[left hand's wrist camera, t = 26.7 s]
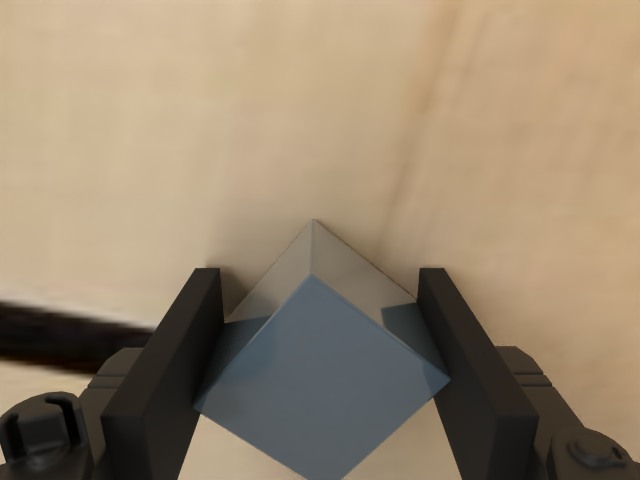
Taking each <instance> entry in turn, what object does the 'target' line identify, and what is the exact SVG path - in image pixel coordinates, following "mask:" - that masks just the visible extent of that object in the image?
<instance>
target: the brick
mask: <svg viewBox="0 0 640 480" xmlns="http://www.w3.org/2000/svg"><path fill="white" fill-rule="evenodd" d="M450 381H451V379H450V376H449V374H448V371H447V369H446V367H445V365H444V362H443V360H442V358H441V356H440V353H439V351H438V349H437V347H436V344H435V342H434V340H433V338H432V335H431V333H430V331H429V329H428V326H427V324H426V322H425V320H424V317H423V315H422V313H421V311H420V308H419V306H418V304H417V302H416V300H415V298H413V297H412V296H411V295H410V294H408V293H407V292H406V291H405V290H403V289H402V288H401V287H399V286H398V285H397V284H396V283H394V282H393V281H392V280H391V279H389V278H388V277H387V276H386V275H384V274H383V273H382V272H380V271H379V270H378V269H377V268H375V267H374V266H373V265H372V264H370V263H369V262H368V261H367V260H365V259H364V258H363V257H361V256H360V255H359V254H358V253H356V252H355V251H354V250H353V249H351V248H350V247H349V246H348V245H346V244H345V243H344V242H342V241H341V240H340V239H339V238H337V237H336V236H335V235H334V234H332V233H331V232H330V231H328V230H327V229H326V228H325V227H323V226H322V225H321V224H320V223H318V222H317V221H316V220H314V219H312V220H311V221H310V222H309V223H308V225H307V226H306V227H305V228H304V229H303V230H302V232H301V233H300V234H299V235H298V236H297V237H296V239H295V240H294V241H293V242H292V243H291V244H290V246H289V247H288V248H287V249H286V250H285V251H284V253H283V254H282V255H281V256H280V257H279V258H278V260H277V261H276V262H275V263H274V264H273V265H272V267H271V268H270V269H269V270H268V271H267V272H266V274H265V275H264V276H263V277H262V278H261V279H260V281H259V282H258V283H257V284H256V285H255V286H254V288H253V289H252V290H251V291H250V292H249V293H248V295H247V296H246V297H245V298H244V299H243V300H242V302H241V303H240V304H239V305H238V306H237V307H236V309H235V310H234V311H233V312H232V313H231V314H230V316H229V317H228V318H227V319H226V320H225V323H224V325H223V328H222V330H221V333H220V335H219V338H218V340H217V343H216V346H215V348H214V351H213V353H212V356H211V358H210V361H209V363H208V366H207V369H206V371H205V374H204V376H203V379H202V381H201V384H200V386H199V389H198V392H197V394H196V397H195V399H194V402H193V404H192V408H193V409H194V410H196V411H197V412H199V413H201V414H202V415H204V416H205V417H207V418H209V419H210V420H212V421H213V422H215V423H217V424H218V425H220V426H221V427H223V428H225V429H226V430H228V431H229V432H231V433H233V434H234V435H236V436H237V437H239V438H241V439H242V440H244V441H245V442H247V443H249V444H250V445H252V446H254V447H255V448H257V449H258V450H260V451H262V452H263V453H265V454H266V455H268V456H270V457H271V458H273V459H274V460H276V461H278V462H279V463H281V464H282V465H284V466H286V467H287V468H289V469H290V470H292V471H294V472H295V473H297V474H298V475H300V476H302V477H303V478H305V479H307V480H342V479H343V478H344V477H345V476H346V475H347V474H349V473H350V472H351V471H352V470H353V469H354V468H355V467H356V466H357V465H358V464H360V463H361V462H362V461H363V460H364V459H365V458H366V457H367V456H368V455H370V454H371V453H372V452H373V451H374V450H375V449H376V448H377V447H378V446H379V445H381V444H382V443H383V442H384V441H385V440H386V439H387V438H388V437H389V436H390V435H392V434H393V433H394V432H395V431H396V430H397V429H398V428H399V427H400V426H402V425H403V424H404V423H405V422H406V421H407V420H408V419H409V418H410V417H411V416H413V415H414V414H415V413H416V412H417V411H418V410H419V409H420V408H421V407H423V406H424V405H425V404H426V403H427V402H428V401H429V400H430V399H431V398H432V397H434V396H435V395H436V394H437V393H438V392H439V391H440V390H441V389H442V388H444V387H445V386H446V385H447V384H448V383H449V382H450Z"/></svg>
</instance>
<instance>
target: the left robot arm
mask: <svg viewBox="0 0 640 480" xmlns="http://www.w3.org/2000/svg"><path fill="white" fill-rule="evenodd" d="M417 304H418V306H419V308H420V311H421V313H422V315H423V317H424V320H425V322H426V324H427V326H428V329H429V331H430V333H431V335H432V338H433V340H434V342H435V344H436V347H437V349H438V351H439V353H440V356H441V358H442V360H443V362H444V365H445V367H446V369H447V371H448V374H449V376H450V379H451V381H450V382H449V383H448V384H447V385H446V386H445V387H444V388H442V389H441V390H440V391H439V392H438V393H437V394H436V395H435V396H434V397H433V398H434V401H435V404H436V407H437V410H438V412H439V415H440V418H441V421H442V424H443V427H444V429H445V432H446V435H447V438H448V441H449V444H450V446H451V449H452V452H453V455H454V458H455V461H456V463H457V466H458V469H459V472H460V475H461V478H462V480H640V463H638V462H635V461H633V460H632V459H631V457H630V456H629V454H628V453H627V451H626V450H625V449H624V448H622V447H621V446H620V445H619V444H618V443H617V442H615V441H614V440H613V439H611V438H609V437H607V436H605V435H603V434H602V433H600V432H597V431H594V430H591V429H588V428H585V427H584V425H583V424H582V423H581V422H580V420H579V419H578V418H577V416H576V415H575V414H574V412H573V411H572V410H571V408H570V407H569V406H568V404H567V403H566V402H565V400H564V399H563V398H562V396H561V395H560V394H559V392H558V391H557V390H556V389H555V387H552V383H551V382H550V381H549V379H548V378H547V377H546V375H543V371H542V370H541V369H540V367H539V366H538V365H537V363H536V362H535V361H534V359H533V358H531V357H530V356H529V355H527V354H526V353H524V352H523V351H521V350H520V349H519V348H517V347H516V346H494V345H493V343H492V342H491V340H490V339H489V337H488V336H487V334H486V333H485V331H484V329H483V328H482V326H481V325H480V323H479V322H478V320H477V319H476V317H475V316H474V314H473V313H472V311H471V309H470V308H469V306H468V305H467V303H466V302H465V300H464V299H463V297H462V296H461V294H460V292H459V291H458V289H457V288H456V286H455V285H454V283H453V282H452V280H451V279H450V277H449V275H448V274H447V272H446V271H445V269H444V268H420V273H419V285H418V297H417ZM223 325H224V315H223V303H222V291H221V279H220V268H195V270H194V272H193V273H192V275H191V276H190V278H189V279H188V281H187V282H186V284H185V285H184V287H183V288H182V290H181V292H180V293H179V295H178V296H177V298H176V299H175V301H174V302H173V304H172V305H171V307H170V309H169V310H168V312H167V313H166V315H165V316H164V318H163V319H162V321H161V322H160V324H159V325H158V327H157V329H156V330H155V332H154V333H153V335H152V336H151V338H150V339H149V341H148V342H147V344H146V346H145V347H144V348H123V349H122V350H120V351H119V352H117V353H116V354H115V355H113V356H112V357H110V358H109V359H107V360H106V362H105V363H104V364H103V366H102V367H101V368H100V370H99V371H98V372H97V374H96V377H94V378H93V379H92V380H91V382H90V383H89V384H88V388H87V389H85V390H84V391H83V392H82V394H81V395H80V396H79V398H78V397H76V396H75V395H74V394H72V393H67V392H62V391H61V392H48V393H44V394H41V395H37V396H34V397H31V398H29V399H27V400H25V401H22V402H20V403H18V404H16V405H15V406H13V407H12V408H11V409H9V410H8V411H7V412H5V413H4V414H3V415H2V416H1V417H0V445H1V448H2V451H3V454H4V457H5V461H6V463H5V464H2V465H0V480H177V479H178V476H179V473H180V470H181V468H182V465H183V462H184V459H185V456H186V453H187V451H188V448H189V445H190V442H191V439H192V436H193V434H194V431H195V428H196V425H197V422H198V419H199V417H200V414H201V413H199V412H197V411H196V410H194V409H193V408H192V404H193V402H194V399H195V397H196V394H197V392H198V389H199V386H200V384H201V381H202V379H203V376H204V374H205V371H206V369H207V366H208V363H209V361H210V358H211V356H212V353H213V351H214V348H215V346H216V343H217V340H218V338H219V335H220V333H221V330H222V328H223Z"/></svg>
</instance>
